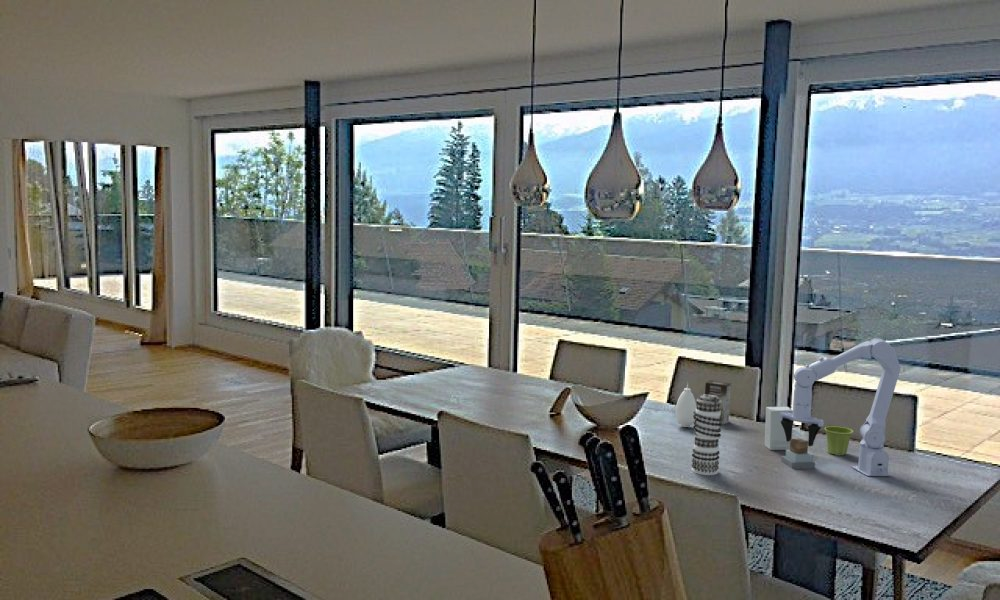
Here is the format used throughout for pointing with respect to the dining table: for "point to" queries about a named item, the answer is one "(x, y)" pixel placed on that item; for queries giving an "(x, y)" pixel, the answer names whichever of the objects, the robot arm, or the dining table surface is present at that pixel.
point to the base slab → (797, 463)
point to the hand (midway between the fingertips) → (799, 443)
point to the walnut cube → (798, 446)
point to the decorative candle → (706, 435)
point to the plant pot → (838, 439)
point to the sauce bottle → (686, 408)
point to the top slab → (799, 456)
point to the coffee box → (720, 396)
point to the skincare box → (776, 429)
